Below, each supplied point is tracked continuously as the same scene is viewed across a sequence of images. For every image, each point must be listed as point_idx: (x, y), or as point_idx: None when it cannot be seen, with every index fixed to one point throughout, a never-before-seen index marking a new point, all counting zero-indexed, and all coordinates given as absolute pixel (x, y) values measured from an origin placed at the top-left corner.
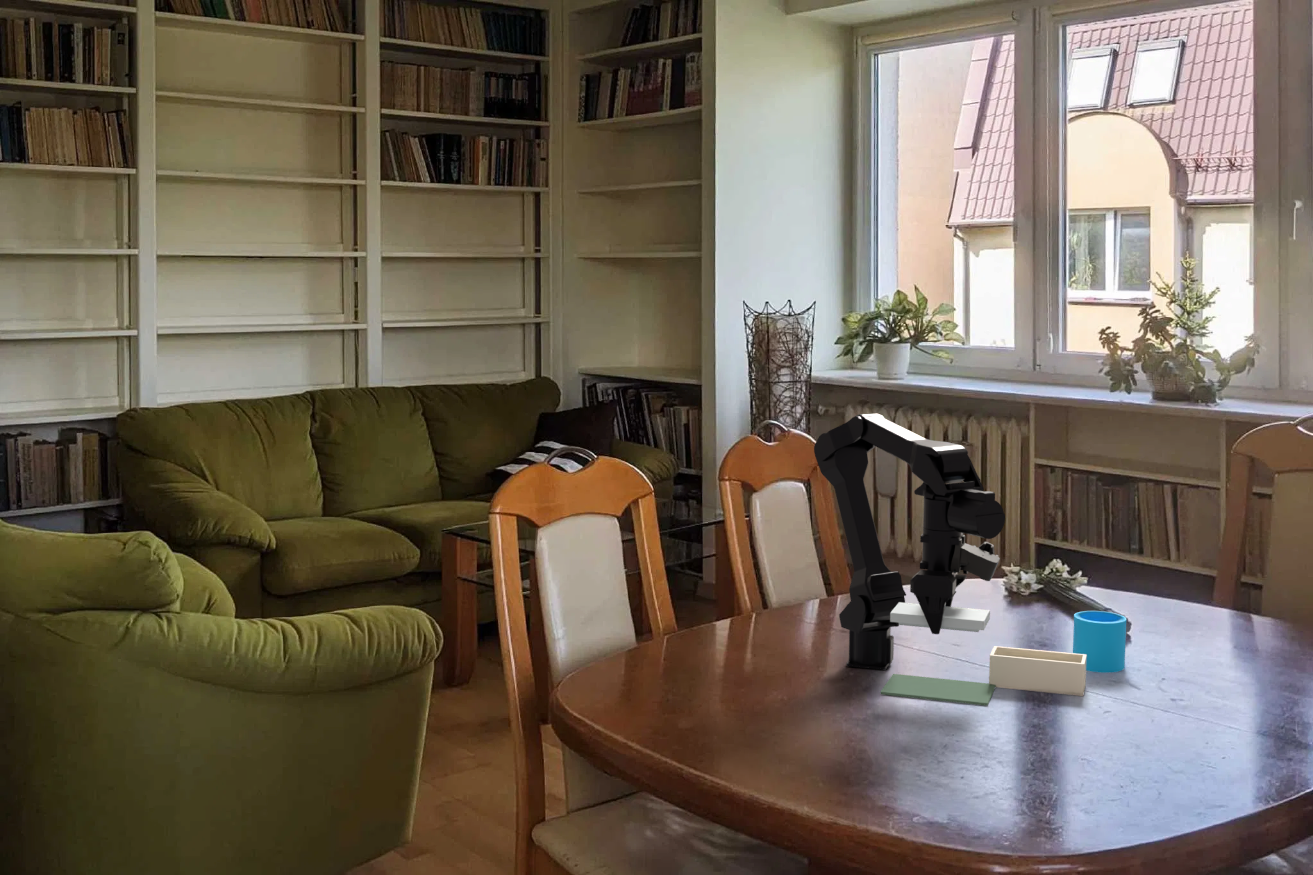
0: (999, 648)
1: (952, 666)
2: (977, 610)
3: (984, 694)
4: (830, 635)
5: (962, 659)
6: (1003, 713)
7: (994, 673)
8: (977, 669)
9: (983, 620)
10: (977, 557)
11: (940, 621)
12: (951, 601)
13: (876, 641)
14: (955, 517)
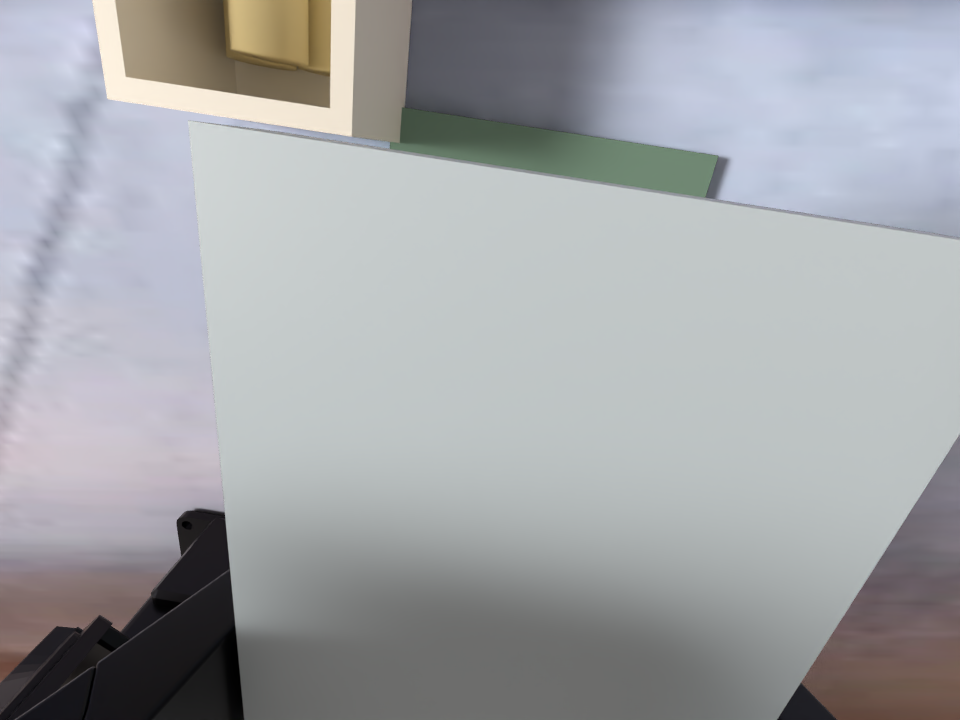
0: (129, 59)
1: (155, 305)
2: (303, 344)
3: (576, 169)
4: (10, 652)
5: (30, 261)
6: (835, 72)
7: (386, 109)
8: (148, 196)
9: None
10: None
11: (822, 715)
12: (173, 686)
13: None
14: None
